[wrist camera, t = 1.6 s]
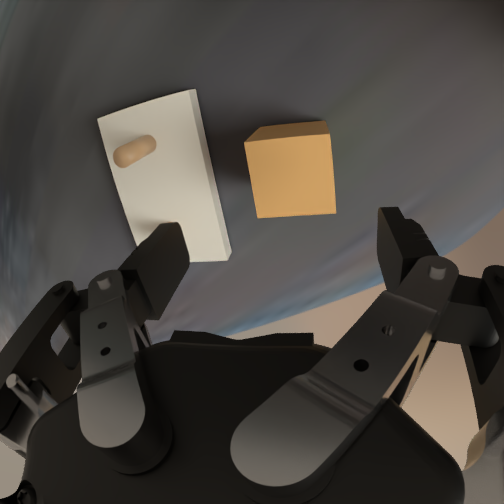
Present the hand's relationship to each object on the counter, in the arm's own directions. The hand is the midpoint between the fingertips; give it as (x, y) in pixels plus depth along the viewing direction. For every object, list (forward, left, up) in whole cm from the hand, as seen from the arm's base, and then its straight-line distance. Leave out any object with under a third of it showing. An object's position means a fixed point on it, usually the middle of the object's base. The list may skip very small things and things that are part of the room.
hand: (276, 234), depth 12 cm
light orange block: (0, 0, -13) cm, 13 cm away
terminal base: (+11, +1, -13) cm, 17 cm away
